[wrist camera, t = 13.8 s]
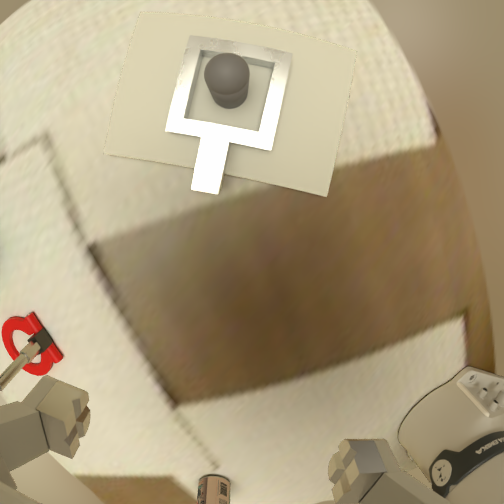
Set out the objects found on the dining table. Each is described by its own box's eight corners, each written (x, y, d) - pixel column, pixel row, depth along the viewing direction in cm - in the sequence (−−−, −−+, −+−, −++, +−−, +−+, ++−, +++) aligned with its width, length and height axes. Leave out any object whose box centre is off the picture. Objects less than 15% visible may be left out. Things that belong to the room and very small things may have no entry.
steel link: (258, 197, 27) (261, 203, 23) (161, 178, 27) (149, 182, 23) (289, 60, 24) (296, 45, 20) (193, 43, 23) (185, 26, 19)
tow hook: (32, 376, 35) (70, 361, 33) (-15, 435, 22) (18, 430, 21) (-3, 326, 32) (31, 303, 31) (-60, 376, 20) (-37, 360, 19)
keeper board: (352, 55, 25) (391, 22, 17) (322, 195, 29) (355, 210, 20) (144, 17, 23) (113, -25, 15) (109, 154, 27) (61, 154, 18)
